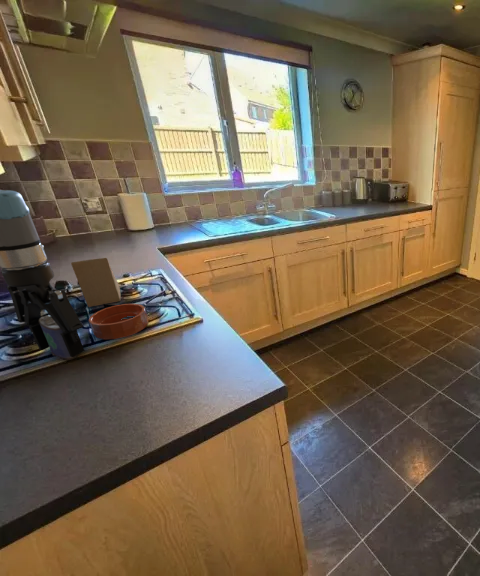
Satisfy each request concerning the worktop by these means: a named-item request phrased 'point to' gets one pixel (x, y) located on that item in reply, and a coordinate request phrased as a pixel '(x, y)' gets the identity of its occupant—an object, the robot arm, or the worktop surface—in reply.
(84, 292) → the sandwich container
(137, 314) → the bowl
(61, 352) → the flask
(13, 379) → the worktop surface
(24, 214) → the robot arm
